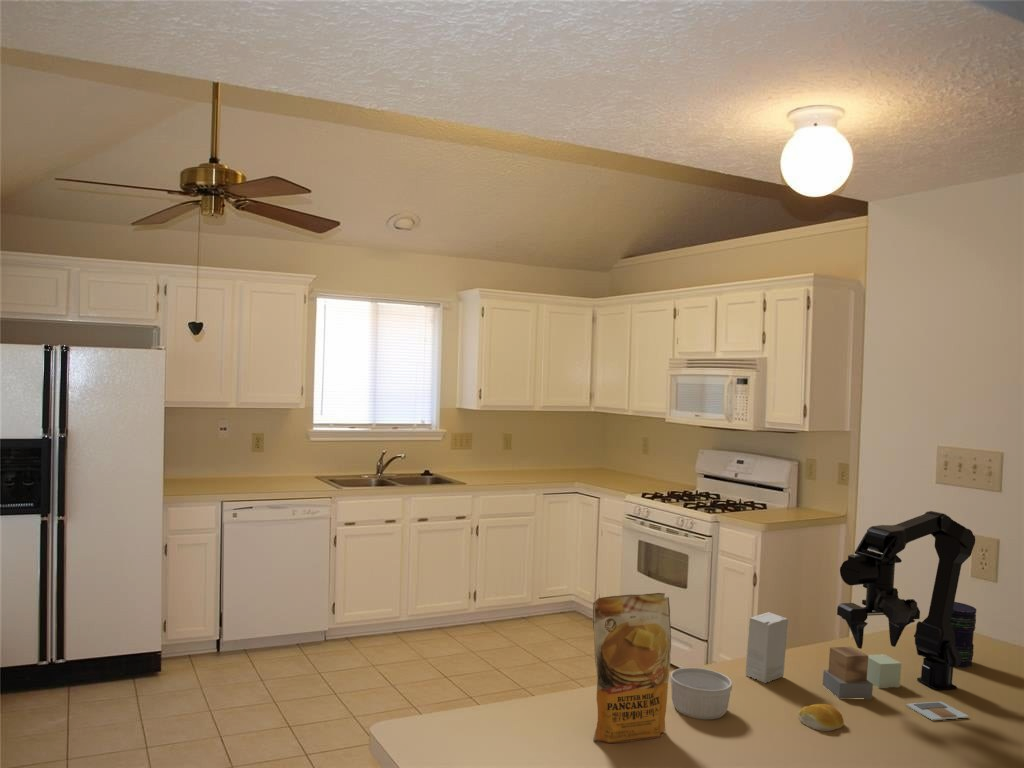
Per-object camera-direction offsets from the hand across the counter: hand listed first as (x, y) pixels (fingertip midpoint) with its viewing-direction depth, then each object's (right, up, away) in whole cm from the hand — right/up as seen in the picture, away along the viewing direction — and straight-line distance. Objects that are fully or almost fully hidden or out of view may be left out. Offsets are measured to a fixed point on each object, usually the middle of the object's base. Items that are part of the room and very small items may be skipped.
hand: (876, 647), depth 193 cm
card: (+10, -12, -7) cm, 18 cm away
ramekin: (-45, -10, -13) cm, 48 cm away
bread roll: (-20, -11, -17) cm, 28 cm away
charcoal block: (-6, -12, +2) cm, 13 cm away
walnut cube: (-6, -8, +2) cm, 10 cm away
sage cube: (+5, -12, +9) cm, 15 cm away
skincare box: (-24, -10, +8) cm, 27 cm away
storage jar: (+33, -13, +28) cm, 45 cm away
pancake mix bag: (-63, -9, -28) cm, 69 cm away
